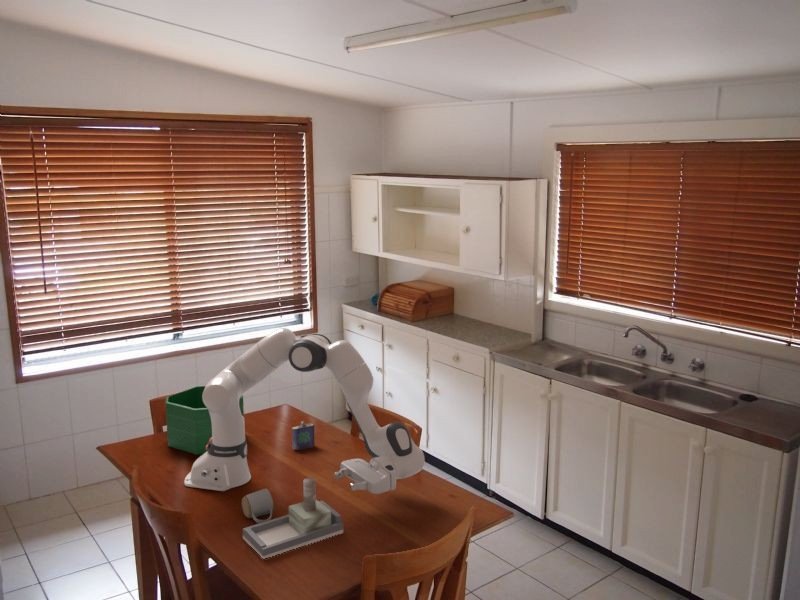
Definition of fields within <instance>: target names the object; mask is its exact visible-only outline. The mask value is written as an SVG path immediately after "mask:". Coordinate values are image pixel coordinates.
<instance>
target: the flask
mask: <svg viewBox="0 0 800 600" xmlns="http://www.w3.org/2000/svg"><path fill="white" fill-rule="evenodd" d="M291 434H292V435H291V440H292V441H291V442H292V443H291V449H292V451H299V450H304V449H308V448H309V449H310V448H314V447H315V424H314V423H305V421H304V420H301V421H300V425H298V426H297V425H296V426H292V428H291Z"/></svg>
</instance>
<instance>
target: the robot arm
mask: <svg viewBox="0 0 800 600" xmlns="http://www.w3.org/2000/svg"><path fill="white" fill-rule="evenodd" d="M287 362H289V364H290V365H291V366H292V368H293V369H295V370H296V371H298V372H302V373H306V372H307V373H308V372H309V373H310V372H314V371H317V370H321V369H323V368H327V370H330V372H331V373H332V376H334V379H335V380H336V382H337V383H338V385H339V386H340V388H341V390H342V392H343V394H344V397H345V401H346V404H347V407H348V409H349V412H350V413H351V415H352V417H353V419H354V421H355V423H356V425H357V427H358V429H359V430H360V433H361V435H362V438H363V441H364V446H365V447H364V448H365V450H366V451H367V454H368V455H369V456H370V457H372V458H371V459H370V460H369V462H368V461H366V460H365V459H362V458H351V459H347V460H343V461H342V462H340V469H339V471H335V472H334V474H333V475H334V478H335V479H336V480H340V479H342V477H347V478H349V479H350V480H352V482H351V483H350V485H349V488H350V490H352V491H357V490H360V491H365V490H366V491H368V492H369V493H371V494H372V495H379V494H383V493H386V492H389V491H395V490H396V489H397V480H398V479H399V480H402V479H406V478H409V477H412V476H414V475H416V474H419V472H421V471H422V470H423V468H424V466H425V459H426V457H425V453H424V451H423V450H422V449H421V448H420V447H419V446H417V444H415V441H414V440H413V438H412V436H411V434H410V431H409V428H408V427H407V426H406V425H405V424H403V423H402V422H399V421H394V422H391V423H388V424H387V425H384V426H382V427H381V426H380V425H379V424H378V422H377V420H376V418H375V416H374V414H373V412H372V411H371V408H370V406H369V402H368V400H369V395H370V393H371V391H372V389H373V386H374V376H373V372H371V369H370V368H369V366H368V365H367V363H366V361H365V360H364V358H363V357H362V356H361V354H360V353H359V352H358V350H357V349H356V348H355V347H354V345H352V344H351V342H349V341H348V340H345V339H342V340H336V341H334V342H333V343H332V342H331V340H330V339H329V338H328V337H327V336H326V335H323V334H320V333H312V334H305V335H301V336H300V337H298V336H297V335H296V334H295V332H293V331H292V330H291V329H289V328H286V327H281V328H279V329H276V330H274V331H272V332H271V333H269V334H268V335H266V336H264V337H263V338H261V339H260V340H259V341H257V343H255V344H254V345H253V346H251V347H250V348H249V349H248V350H246V351H245V352H244V353H243V354H241V355H240V356H239V357H238V358H236V359H235V360H234V361H232V362H231V363H230V364H228V365H227V366H225V368H224V369H222V370H221V371H220V372H218V374H216V375H215V376H214V377H213V378H211V379H210V380H209V381H208V382H207V383H206V385H205V386H206V387H205V389H204V391H203V394H202V399H203V402H204V404H205V406H206V407H207V408H208V410H209V414H210V418H211V424H212V437H211V439H210V440H209V442H208V443H207V446H206V450H208V451H207V452H206V453H204V454H201V455H200V456H199V457H197V459H195V461H194V462H193V464H192V466H191V470H190V472H188V473H187V475H186V476H185V478H184V481H183V484H184V486H185V487H188V488H189V487H190V488H196V489H197V488H198V489H203V490H204V489H205V490H211V491H212V490H213V491H217V492H218V491H220V492H225V491H227V490H230V489H233V488H236V487H240V486H242V485H245V484H247V483H248V482H249V481H250V480H251V479H252V475H251V473H250V468H249V465H248V459H247V455H248V444H247V438H246V429H245V428H246V427H245V426H246V425H245V416H244V417H243V416H242V414H241V411H240V407H239V399H240V397H241V396H242V395H243V396H244V394H245V393H246V392H248V391H249V390H250V389H252V388H253V387H255V386H256V385H258V384H259V383H260V382H262V381H264V380H265V379H266V378H267V377H269V376H270V375H272V373H274V372H275V371H276V370H278V369H279V368H280V367H282V365H284V364H285V363H287Z"/></svg>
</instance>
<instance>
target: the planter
mask: <svg viewBox="0 0 800 600" xmlns="http://www.w3.org/2000/svg"><path fill="white" fill-rule="evenodd" d="M205 387H206V385H201V386H200V385H197V386H194V387H191V388H188V389H185V390H183V391H179V392H177V393H173V394H171V395H168V396H166V398H165V402H164V403H165V414H166V415H165V417H166V418H165V419H166V421H165V422H166V432H167V433H166V435H167V436H166V437H167V446H168V447H170V448H173V449H177V450H181V451H184V452H188V453H190V454H193V455H203V454H204V453H206V452H207V451H208V450H206V446H207V443H208V442H209V440H210V439H211V437H212V424H211V418H210V414H209V410H208V408H207V407H206V406H205V404H204V402H203V399H202V394H203V391H204V389H205ZM239 407H240V411H241V414H242V416H243V417H244V418H245V413H244V412H245V410H244V394H243V395H242V396H241V397H240V399H239Z"/></svg>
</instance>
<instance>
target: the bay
mask: <svg viewBox="0 0 800 600" xmlns="http://www.w3.org/2000/svg"><path fill="white" fill-rule="evenodd" d="M318 501H319V500H318ZM319 502H320V503H322V504H323V505H324V506H325V507H327V508H328V509H329V510H330V511H331V525H329V526H326V527H323V528H320V529H317V530H314V531H311V532H308V533H305V534H300V533H299V532H298V531H297V530H296V529H295V528H294V527H293V526H292V525H290V524H289V514H285V515H282V516H279V517H276V518H273V519H272V518H271V520H269V521H266V522H263V523H256V524H254V525H253V524H252V525H250V526H247V527H244V528H242V540H244V541H245V543H246V544H247V545H249V547H250V546H251V547H252V548H253V549H254V550H255V551H256V552H257V553H258V554H259V555H260V556H261V557H260V556H259V555H258V554H257V553H256V552H255V551H254V550H253V549H252V548H251V547H250V548H251V549H252V550H253V551H254V552H255V553H256V554H257V555H258V556H259V557H260V558H261V559H262V558H263V559H265V558H268V557H271V558H273V557H272V556H274V557H276V556H275V555H277V554H280V555H282V554H281V553H283V552H286V551H289V550H292V549H295V550H297V549H296V548H298V547H301V546H304V545H306V546H309V545H312V544H314V542H315V543H318V542H321V541H323V539H324V540H327V539H330V538H332V536H333V537H335V535H336V536H339V535H341V534H342V535H343V534H344V522H342V515H341V514H340V513H339V512H337V510H335V509H334V508H332V507H331V506H330V505H329V504H327V503H326V502H325V501H323V500H320V501H319ZM338 534H339V535H338ZM329 537H330V538H329ZM326 538H327V539H326ZM320 540H321V541H320ZM317 541H318V542H317ZM311 543H312V544H311ZM308 544H309V545H308ZM304 547H305V546H304ZM301 548H302V547H301ZM298 549H299V548H298ZM292 551H293V550H292ZM289 552H290V551H289ZM286 553H287V552H286ZM283 554H284V553H283ZM277 556H278V555H277ZM263 559H262V560H263ZM268 559H269V558H268ZM265 560H266V559H265Z"/></svg>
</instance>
